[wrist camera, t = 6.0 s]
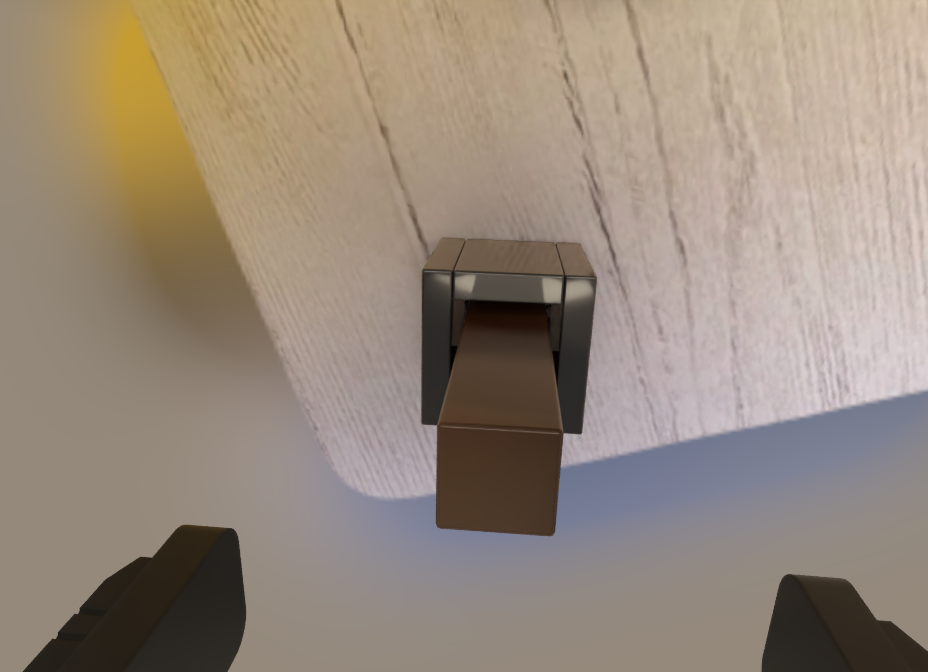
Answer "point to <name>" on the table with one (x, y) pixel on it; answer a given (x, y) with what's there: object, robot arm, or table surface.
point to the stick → (500, 425)
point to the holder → (513, 281)
